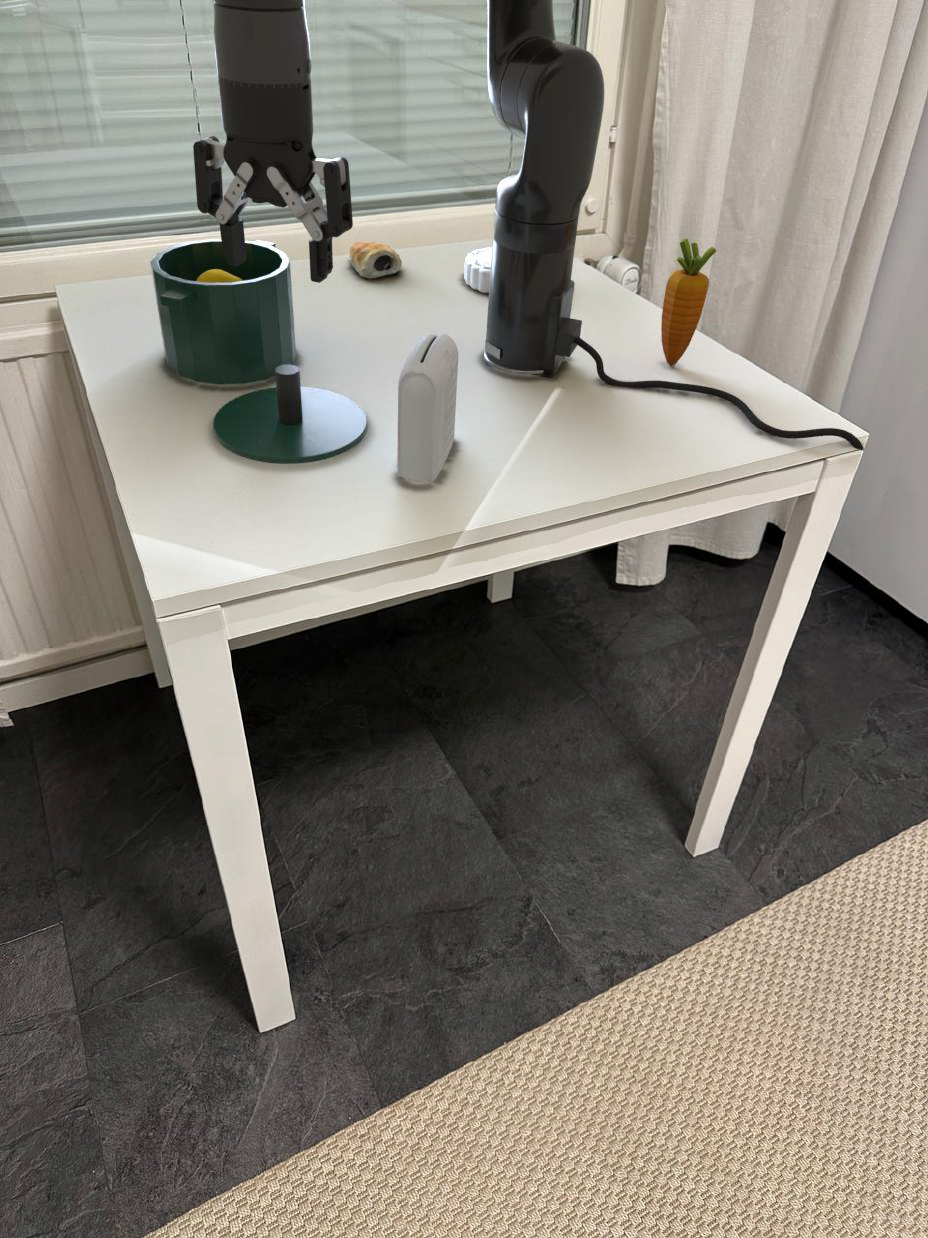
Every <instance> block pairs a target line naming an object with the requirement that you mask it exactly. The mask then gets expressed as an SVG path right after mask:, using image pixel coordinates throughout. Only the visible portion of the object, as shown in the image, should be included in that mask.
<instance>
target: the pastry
mask: <svg viewBox="0 0 928 1238" xmlns="http://www.w3.org/2000/svg"><path fill="white" fill-rule="evenodd" d="M349 258H350V262H351V267H353V268H354V270H355V271H356V273H358V274H359V276H361V277H363V278H367V279H371V280H372V279H376V278H377V279H378V278H382V277H384V276H387V275H389V276H390V275H391V276H392V275H394V274H396V273H398V272H399V271H400V270H401V269H402V266H403V262H402V259H401V257H400V254H398V253H397V252H396V251H395V250H394V249H393V248H392V247H391V246H390V245H389V244H387V243H383V242H377V241H357V242H355V243H354V244H353V245H352V246H350V248H349Z"/></svg>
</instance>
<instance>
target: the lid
mask: <svg viewBox="0 0 928 1238" xmlns="http://www.w3.org/2000/svg"><path fill="white" fill-rule="evenodd" d="M274 377H275V386H274V387H267V388H263V389H258V390H253V391H250V392H247V393H244V394H242V395H239V396H236V397H235V398H233V399H231V400H229V401H228V402H227V403H225V404H223V406H222V407H220V408H219V409H218V411H217V412H216V414H215V416H214V418H213V421H212V425H213V433H214V435H215V438H216V439H217V441H218V442H219V443H220V444H221V445H222V446H223V447H224V448H225V449H227V450H229V451H230V452H232V453H234V454H237V455H239V456H241V457H244V458H247V459H250V460H255V461H258V462H259V461H260V462H264V463H273V464H274V463H275V464H298V463H299V464H301V463H309V462H315V461H320V460H324V459H328V458H331V457H332V458H333V457H335V456H337V455H340V454H343V453H344V452H346V451H348V450H350V449H351V448H353V447H354V446H356V445H357V444H358V443H359V442H360V441H361V440H362V439H363V438H364V436H365V434H366V432H367V429H368V417H367V415H366V412H365V410H364V409H363V408H362V407H361V405H360V404H359V403H357V402H356V401H355V400H353V399H352V398H350V397H348V396H346V395H343V394H341V393H338V392H336V391H332V390H329V389H324V388H319V387H312V386H301V385H302V384H301V371H300V367H298V366H297V365H295V364H293V365H281V366H278V367H277V368H276V369H275V376H274Z"/></svg>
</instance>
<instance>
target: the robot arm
mask: <svg viewBox="0 0 928 1238" xmlns="http://www.w3.org/2000/svg"><path fill="white" fill-rule="evenodd" d="M213 11H214V12H213V13H214V15H213V16H214V17H213V19H214V20H213V39H214V40H213V43H214V51H215V53H214V54H215V61H216V62H215V63H216V71H217V72H216V73H217V82H218V93H219V103H220V114H221V124H222V129H223V132H224V133H225V135H226V139H225V142H220V139H219V138H218V137H217V136H214V135H211V136H208V137H206V138H202V139H200V140H197V141H195V142H193V146H192V149H193V150H192V151H193V164H194V175H195V176H194V177H195V178H194V179H195V191H196V205H197V209H198V210H199V212H200V213H201V214H209V215H210V216H212V217H214V218H215V219H216V221H217V223H218V224H219V231H220V240H221V241H222V252H223V254H224V257H225V258H227V260H228V264H229V265H231V266H239V265H241V264H242V263H244V262H245V261H246V247H245V241H246V237H245V228H244V227H245V225H244V219H240V216H241V215H242V213H243V212H244V210H245V209H246V207H247V205H248V204H249V203H250V201H251V202H252V203H256V204H265V203H267V204H270V205H272V206H275V207H276V208H277V207H279V208H286V207H288V209H289V210H290V212H291V213H292V215H293V217H294V218H295V219H297V220H299V221H300V222H301V224H302V225H303V226H304V228H305V229H306V231H307V233H308V234H309V236H310V237H311V239H309V240H308V252H309V253H308V254H309V275H310V281H311V282H312V283H313V282H314V283H318V284H320V283H322V282H323V281H325V280H326V279H327V278H328V275H330V274H331V273H332V271H333V269H334V261H333V260H334V258H333V256H334V255H333V238H338V237H341V236H342V235H343V234H345V233H346V232H349V231H350V230H351V229H352V228H353V227H354V225H353V224H354V222H353V221H354V220H353V207H352V193H351V192H352V191H351V178H350V164H349V161H348V160H347V158H346V157H344V156H338V157H336V158H333V159H330V158H318V157H317V155H316V153H315V150H314V147H313V138H314V137H313V136H314V114H313V92H312V91H313V89H312V88H313V87H312V68H313V67H312V66H313V65H312V64H313V63H312V59H311V44H310V36H309V35H310V34H309V29H308V23H307V15H306V8H305V0H213ZM554 22H555V21H554V3H553V0H487V86H488V97H489V103H490V107H491V110H492V112H493V115H494V118H495V120H496V121H497V123H498V124H499V125H500V126H501V127H502V128H503V129H504V130H505V131H507V132H508V133H510V134H511V135H513V136H515V137H518V138H521V139H522V140H524V146H523V153H522V161H521V166H520V169H519V171H518V173H516V174H515V173H514V174H512V175H509V176H506V177H504V178H503V179H501V180H500V182H499V183H498V184H497V187H496V191H495V192H496V193H495V205H494V219H493V230H492V231H493V233H492V259H491V273H490V287H489V293H488V301H487V302H488V304H487V317H486V318H487V319H486V330H485V331H486V333H485V341H484V343H485V344H484V350H483V361H484V362H485V364H486V365H487V366H488V367H491V368H495V369H498V370H501V371H503V372H507V373H511V374H516V375H517V374H519V375H531V376H537V377H548V378H553V377H555V374H556V373H557V371H558V370H559V369H560V368H561V366H562V364H563V362H564V361H565V359H566V358H570V357H571V356H572V354H573V353H574V351H575V349H576V348H577V347H580V348H581V349H582V350H584V351H585V352H587V353H588V354H589V356H590V357H592V358H593V360H594V362H595V365H596V372H597V376H598V378H599V379H600V380H601V381H602V382H604V383H605V384H607V385H609V386H613V387H618V388H619V387H620V388H629V389H651V388H652V389H653V388H654V389H655V388H656V389H657V388H658V389H667V390H674V391H684V392H691V393H692V392H693V393H698V394H699V393H700V394H703V395H704V394H705V395H708V396H709V395H710V396H714V397H716V398H720V399H722V400H725V401H727V402H730V403H731V404H733V405H734V406H736V407H737V409H739V410H740V411H741V412H742V413H743V415H744V416H745V418H747V420H748V421H749V422H750V423H751V424H752V425H753V426H754V427H756V428H757V429H759V430H760V431H761V432H764V433H765V434H768V435H770V436H773V437H777V438H780V439H791V440H797V439H809V438H818V437H838V438H841V439H843V440H845V441H847V442H848V443H850V445H851V446H852V447H853V448H855V449H858V450H864V445H863V444H862V442H861V440H860V439H859V438H858V437H856V436H855V435H854V434H853V433H852V432H849V431H848V430H845V429H841V428H834V427H823V428H814V429H813V428H812V429H805V430H803V429H802V430H785V429H781V428H780V429H779V428H777V427H774V426H771V425H769V424H767V423H766V422H764V421H762V419H760V418H759V417H758V416H757V415H756V414H755V412H753V411H752V409H751V408H750V406H748V405H747V404H746V402H744V401H743V400H742V399H741V398H740V397H738V396H736V395H734V394H731V393H729V392H727V391H724V390H722V389H718V388H715V387H710V386H705V385H699V384H692V383H685V382H675V381H668V380H657V379H655V380H638V381H622V380H618V379H615V378H612V377H611V376H610V375H608V374H607V373H606V372H605V367H604V361H603V358H602V356H601V355H600V353H599V352H598V351H597V350H596V349H595V348H594V347H593V346H592V345H591V344H589V343H588V342H586V341H585V340H584V339H583V338H581V331H582V326H583V320H581V319H577V318H572V317H571V316H572V315H571V314H572V308H573V307H572V306H573V300H574V291H575V281H574V280H572V274H573V273H572V272H573V266H574V265H573V264H574V257H575V249H576V243H577V242H576V241H577V232H578V226H579V225H578V224H579V218H580V211H581V205H582V202H583V199H584V198H585V195H586V193H587V191H588V189H589V187H590V184H591V180H592V177H593V172H594V165H595V159H596V154H597V149H598V143H599V137H600V132H601V127H602V121H603V115H604V106H605V80H604V73H603V70H602V67H601V65H600V63H599V61H598V60H597V58H596V57H595V55H594V54H593V53H591V51H589V50H587V49H585V48H583V47H580V46H577V45H573V44H570V43H566V42H563V41H559V40H557V38H556V31H555V23H554ZM225 164H226V165H227V167H228V168H229V170H230V171H231V173H232V175H233V176H234V177H233V179H232V181H231V182H230V184H229V186H228V188H227V189H226V191H225V193H224V190H223V168H222V167H223V166H224V165H225ZM315 175H317V176H318V178H319V183H320V186H322V187H324V192H325V193H324V196H325V207H326V210H325V208H324V202H323V199H322V197H321V196H320V194H319V193H318V191H317V189H316V188H315V186H314V184H313V182H312V180H313V179H314V177H315ZM302 198H303V199H304V200H303V199H302Z"/></svg>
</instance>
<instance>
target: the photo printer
mask: <svg viewBox="0 0 928 1238" xmlns="http://www.w3.org/2000/svg"><path fill="white" fill-rule="evenodd" d="M404 361H405V362H404V363H403V366H402V368H401V371H400V374H399V378H398V385H397V386H398V387H397V451H396V452H397V453H396V455H397V457H396V459H397V462H396V463H397V467H396V468H397V469H396V470H397V477H398V478H399V477H400V478H402V479H404V480H405V481H409V482H412V483H427V482H430V483H431V482H434V481H435V480H436V479H437V478H438V476H439V474H440V473H441V471H442V469H443V467H444V465H445V463H446V461H447V459H448V456H449V455H450V452H451V449H452V447H453V445H454V441H455V429H456V408H457V389H458V372H459V371H458V370H459V348H458V345H457V344H456V341H455V340H454V339H453V338H452V336H451V335H449V334H448V333H442V334H441V333H437V332H431V333H428V334H426V335H424V336H423V337H421V338H420V339H419V340H418V341H417V342H416V344H415V345H414V346H413V347H412V348H411V350H410V351H409V354H408V355H407V357H406V359H405V360H404Z"/></svg>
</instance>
